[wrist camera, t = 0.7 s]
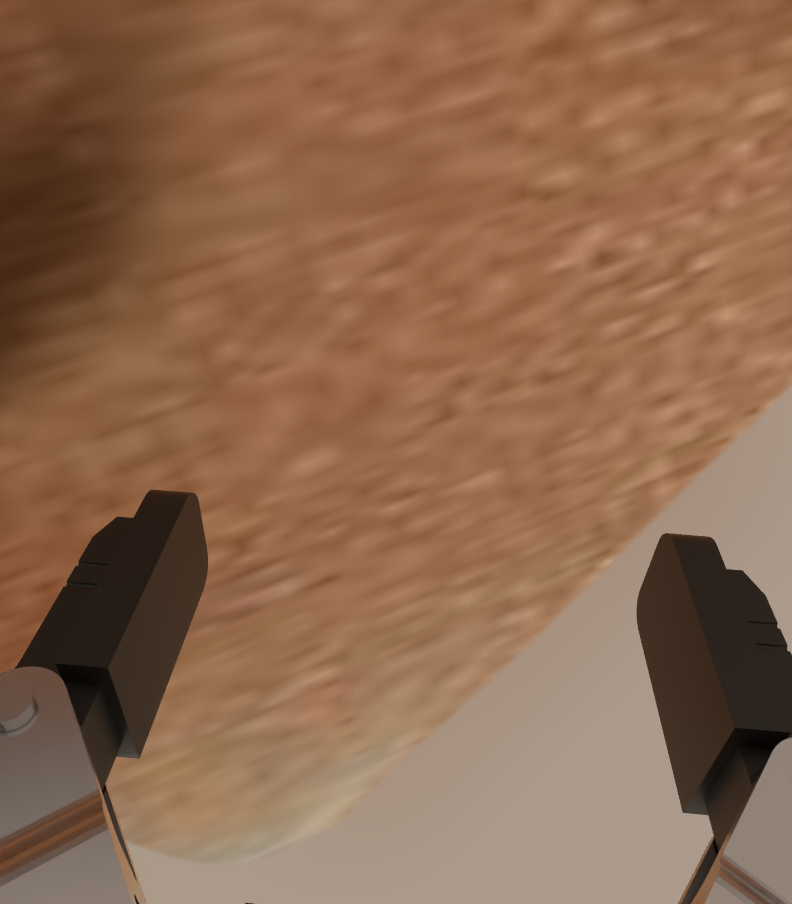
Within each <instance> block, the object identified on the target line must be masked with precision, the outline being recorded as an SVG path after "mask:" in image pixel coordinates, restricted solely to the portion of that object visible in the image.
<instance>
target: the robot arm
mask: <svg viewBox="0 0 792 904" xmlns="http://www.w3.org/2000/svg"><path fill="white" fill-rule="evenodd" d="M78 562H79V564H78V566H76V567H75V568H74V570H73V572H72V573H71V575H70V577H69V578H68V580H67V585H66V587H63V589H62V590H61V592H60V594H59V596H58V597H57V599H56V601H55V602H54V604H53V606H52V608H51V609H50V611H49V613H48V614H47V616H46V618H45V619H44V621H43V623H42V625H41V626H40V628H39V630H38V631H37V633H36V635H35V637H34V638H33V640H32V642H31V643H30V645H29V647H28V648H27V650H26V652H25V654H24V655H23V657H22V659H21V660H20V662H19V663H18V665H17V666H16V667H15V669H12V670H9V671H6V672H3V673H1V674H0V904H147V903H146V900H145V897H144V895H143V891H142V889H141V886H140V883H139V880H138V877H137V874H136V871H135V868H134V865H133V862H132V859H131V856H130V853H129V850H128V847H127V844H126V841H125V838H124V835H123V831H122V828H121V825H120V822H119V819H118V816H117V813H116V810H115V807H114V804H113V801H112V798H111V795H110V792H109V789H108V786H107V784H106V780H107V778H108V776H109V773H110V771H111V768H112V766H113V763H114V761H115V758H116V756H117V757H127V758H138V759H139V758H140V755H141V753H142V750H143V748H144V745H145V742H146V740H147V737H148V734H149V732H150V729H151V726H152V724H153V721H154V719H155V716H156V713H157V711H158V708H159V705H160V703H161V700H162V697H163V695H164V692H165V690H166V687H167V684H168V682H169V679H170V676H171V674H172V671H173V668H174V666H175V663H176V661H177V658H178V655H179V653H180V650H181V647H182V645H183V642H184V639H185V637H186V634H187V631H188V629H189V626H190V624H191V621H192V618H193V616H194V613H195V610H196V608H197V605H198V602H199V600H200V597H201V595H202V592H203V589H204V586H205V582H206V577H207V570H208V553H207V547H206V541H205V535H204V529H203V524H202V518H201V512H200V506H199V501H198V498H197V496H196V494H195V493H187V492H175V491H162V490H150V491H149V492H148V493H147V494H146V496H145V498H144V499H143V501H142V503H141V505H140V507H139V509H138V511H137V512H136V514H135V516H134V518H126V517H116V518H115V519H114V520H113V521H111V522H110V523H109V524H108V525H107V526H105V527H104V528H103V529H102V530H101V531H99V532H98V533H97V534H96V535H95V536H93V537H92V539H91V541H90V543H89V544H88V546H87V548H86V549H85V551H84V553H83V555H82V556H81V558H80V560H79V561H78ZM637 624H638V630H639V634H640V638H641V642H642V646H643V650H644V654H645V659H646V663H647V667H648V671H649V675H650V679H651V683H652V687H653V692H654V696H655V700H656V704H657V708H658V712H659V716H660V721H661V725H662V729H663V733H664V737H665V741H666V745H667V749H668V754H669V757H670V762H671V765H672V770H673V774H674V778H675V782H676V786H677V790H678V795H679V799H680V803H681V807H682V811H683V813H691V814H702V815H709V819H710V823H711V826H712V830H713V834H714V836H713V837H712V839H711V840H710V842H709V843H708V845H707V847H706V849H705V851H704V853H703V855H702V857H701V859H700V861H699V863H698V865H697V867H696V869H695V871H694V873H693V875H692V877H691V879H690V881H689V883H688V885H687V886H686V889H685V890H684V892H683V894H682V896H681V899H680V900H679V903H678V904H792V655H791V653H790V652H788V651H787V643H786V641H785V639H784V637H783V634H782V632H781V630H780V629H778V628H777V621H776V618H775V616H774V614H773V611H772V609H771V607H770V605H769V602H768V600H767V598H766V596H765V594H764V593H763V592H762V591H761V590H760V589H759V588H758V587H757V586H756V585H755V584H754V583H753V582H752V581H751V579H750V578H749V577H748V576H747V575H746V574H745V573H744V572H743V571H742V570H730V569H726V567H725V565H724V562H723V560H722V557H721V555H720V552H719V549H718V547H717V545H716V543H715V541H714V540H713V539H712V538H711V537H705V536H693V535H681V534H669V533H666V534H663V535H662V536H661V538H660V540H659V542H658V544H657V547H656V550H655V552H654V555H653V558H652V560H651V563H650V566H649V568H648V571H647V573H646V576H645V579H644V581H643V584H642V586H641V589H640V592H639V596H638V602H637ZM245 904H252V903H245Z"/></svg>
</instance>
